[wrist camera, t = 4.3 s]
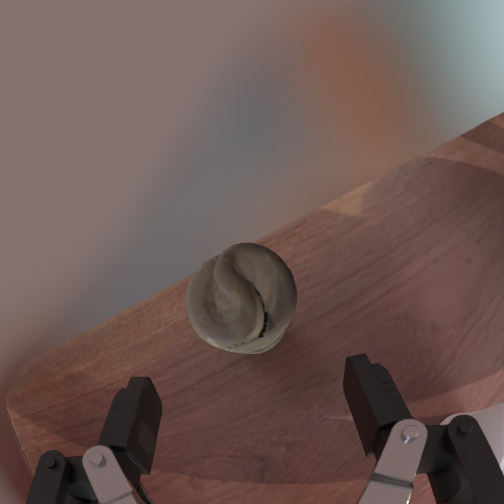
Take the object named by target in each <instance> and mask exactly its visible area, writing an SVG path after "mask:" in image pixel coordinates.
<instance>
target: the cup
mask: <svg viewBox="0 0 504 504" xmlns="http://www.w3.org/2000/svg"><path fill="white" fill-rule="evenodd" d="M458 415H470V416H472V417H473V418H475V419H476V420H477V422H478V423H479V425H480V427H481V429H482V431H483V433H484V435H485V437H486V439H487V441H488V443H489V444H490V447H491V449H492V451H493V453H494V455H495V457H496V459H497V461H498V463H499V465H500V468H501V470H502V472H503V474H504V402H502V403H499V404H496V405H493V406H491V407H488V408H486V409H483V410H479V411H475V412H468V413H456V414H452V415H451V416H449V417H447V418H446V419H445V420H443V421H442V422H441V423H440V425H445V424H449V423H450V421H451V420H452V419H453V418H454V417H456V416H458Z"/></svg>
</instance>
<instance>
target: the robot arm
mask: <svg viewBox="0 0 504 504" xmlns="http://www.w3.org/2000/svg"><path fill="white" fill-rule="evenodd" d="M343 388H344V393H345V397H346V399H347V402H348V405H349V408H350V411H351V413H352V416H353V419H354V422H355V425H356V428H357V431H358V433H359V436H360V439H361V442H362V445H363V448H364V451H365V454H366V457H368V456H372V455H375V457H376V460H377V462H376V464H375V467H374V469H373V471H372V473H371V475H370V477H369V479H368V481H367V483H366V485H365V487H364V489H363V491H362V493H361V495H360V497H359V499H358V500H357V502H356V504H407V503H408V501H409V499H410V496H411V493H412V490H413V485H412V483H413V480H414V477H415V474H421V473H427V476H428V478H429V481H430V484H431V487H432V490H433V494H434V497H435V500H436V503H437V504H504V474H503V472H502V470H501V468H500V465H499V463H498V461H497V459H496V457H495V455H494V453H493V451H492V449H491V447H490V444H489V443H488V441H487V439H486V437H485V435H484V433H483V431H482V429H481V427H480V425H479V423H478V422H477V420H476V419H475V418H473V417H472V416H470V415H458V416H456V417H454V418H453V419H452V420H451V421H450V423H449V424H445V425H433V426H428V425H424V424H423V423H422V422H420V421H418V420H415V419H414V418H413V417H412V416H411V414H410V412H409V410H408V408H407V406H406V404H405V402H404V400H403V398H402V396H401V394H400V393H399V391H398V389H397V388H396V385H395V383H394V381H393V379H392V377H391V376H390V374H389V372H388V370H387V369H386V368H384V367H383V366H382V365H381V364H379V363H375V364H371V363H370V361H369V359H368V357H367V355H366V354H359V355H354V356H350V357H347V358H346V363H345V372H344V380H343ZM161 416H162V402H161V399H160V397H159V395H158V393H157V391H156V389H155V387H154V385H153V383H152V381H151V379H150V378H149V377H131V378H130V380H129V383H128V386H127V389H124V388H122V389H121V390H120V391H119V392H118V393H117V394H116V396H115V397H114V399H113V402H112V405H111V408H110V410H109V413H108V416H107V419H106V421H105V424H104V427H103V430H102V433H101V436H100V439H99V442H98V444H97V446H94V447H91V448H89V449H88V450H87V451H86V452H85V454H84V455H83V456H75V457H65V456H64V455H63V454H62V453H60V452H59V451H56V450H51V451H47V452H46V453H44V454H43V455H42V456H41V458H40V460H39V463H38V466H37V469H36V472H35V475H34V478H33V482H32V485H31V488H30V492H29V495H28V499H27V503H26V504H97V503H98V501H99V503H100V504H155V503H154V502H153V500H152V499H151V497H150V496H149V494H148V493H147V491H146V490H145V488H144V486H143V485H142V483H141V482H140V476H141V474H147V475H150V472H151V467H152V461H153V456H154V451H155V445H156V440H157V435H158V430H159V425H160V420H161Z"/></svg>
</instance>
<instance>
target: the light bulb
mask: <svg viewBox="0 0 504 504" xmlns="http://www.w3.org/2000/svg"><path fill="white" fill-rule="evenodd" d="M185 303H186V314H187V318H188V320H189V322H190V324H191V327H192V328H193V330H194V331H195V332H196V333H197V335H198V336H199V337H200V338H202V339H203V340H204V341H205V342H207V343H208V344H210V345H212V346H215V347H218V348H221V349H224V350H226V351H230V352H238V353H243V354H260V353H263V352H266V351H268V350H270V349H271V348H273V347H274V346H275V345H276V344H277V343H278V342H279V341H280V339H281V338H282V337H283V335H284V333H285V331H286V328H287V326H288V325H289V324H290V322H291V320H292V318H293V315H294V312H295V308H296V303H297V289H296V285H295V281H294V278H293V275H292V273H291V271H290V269H289V268H288V266H287V265H286V264H285V262H284V261H283V260H282V259H281V258H280V257H279V256H278V255H277V254H276V253H274V252H273V251H271V250H270V249H268V248H266V247H264V246H261V245H258V244H254V243H240V244H236V245H233V246H231V247H230V248H228V249H226V250H225V251H223V253H222V254H220V255H218V256H215V257H213V258H212V259H210V260H208V261H206V262H205V263H204V264H203V265H202V266H201V267H200V268H199V269H198V270H197V271H196V272H195V274H194V275H193V277H192V279H191V280H190V282H189V285H188V288H187V292H186V300H185Z"/></svg>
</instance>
